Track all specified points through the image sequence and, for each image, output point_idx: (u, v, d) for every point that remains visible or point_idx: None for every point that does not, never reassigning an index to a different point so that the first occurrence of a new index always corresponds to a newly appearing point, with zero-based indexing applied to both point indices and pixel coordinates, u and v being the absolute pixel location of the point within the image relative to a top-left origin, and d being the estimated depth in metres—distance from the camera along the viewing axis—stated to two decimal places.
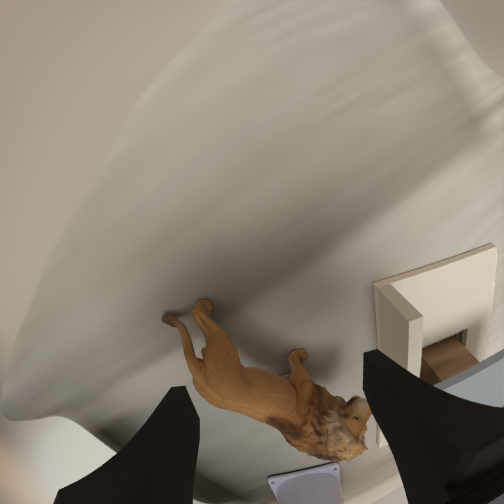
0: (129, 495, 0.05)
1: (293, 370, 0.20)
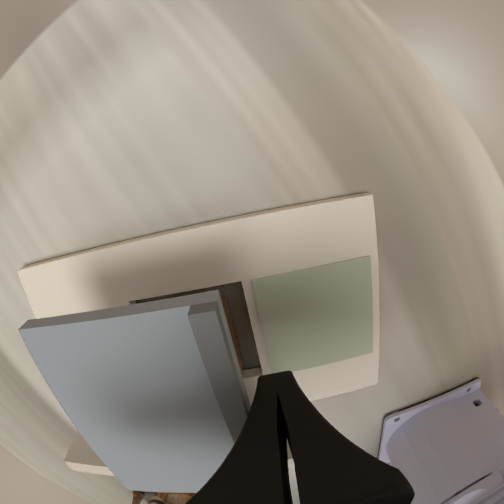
0: (280, 491, 0.05)
1: None
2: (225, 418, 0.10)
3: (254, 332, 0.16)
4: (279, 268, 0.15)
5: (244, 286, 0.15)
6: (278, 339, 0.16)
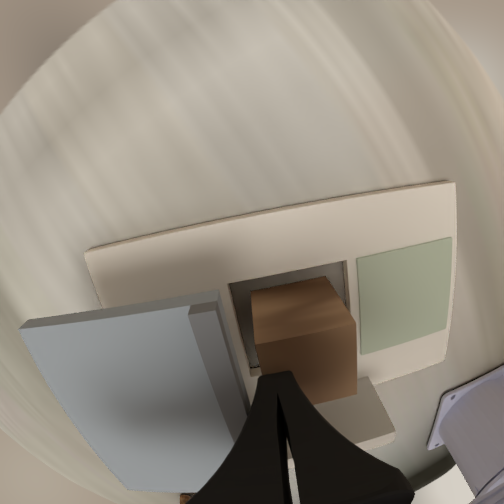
0: (280, 491, 0.05)
1: None
2: (225, 418, 0.10)
3: (351, 311, 0.16)
4: (381, 247, 0.15)
5: (348, 265, 0.15)
6: (373, 317, 0.16)
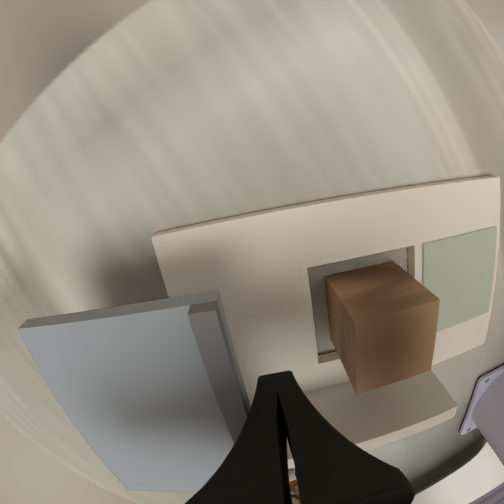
0: (280, 491, 0.05)
1: None
2: (225, 418, 0.10)
3: None
4: (442, 233, 0.15)
5: (415, 250, 0.15)
6: None
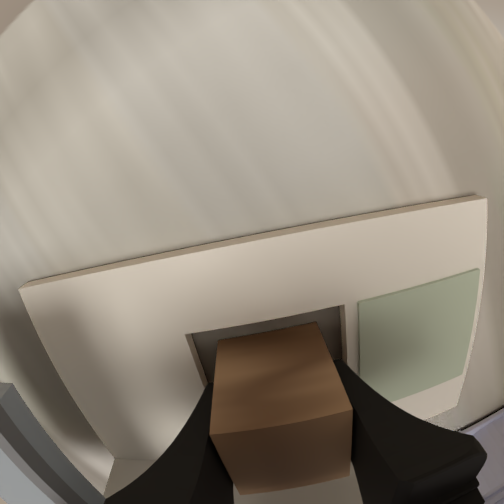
0: (189, 498, 0.05)
1: None
2: None
3: (349, 365, 0.12)
4: (391, 286, 0.11)
5: (347, 310, 0.11)
6: (375, 371, 0.12)
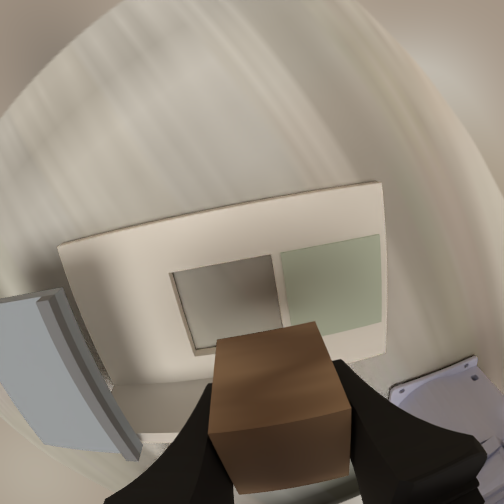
0: (189, 498, 0.05)
1: None
2: (73, 380, 0.12)
3: (280, 301, 0.19)
4: (304, 243, 0.18)
5: (273, 258, 0.18)
6: (301, 307, 0.19)
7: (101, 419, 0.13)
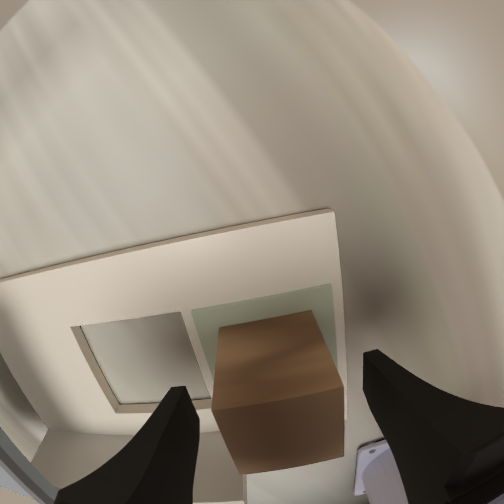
0: (129, 495, 0.05)
1: None
2: None
3: (200, 365, 0.14)
4: (221, 298, 0.13)
5: (184, 317, 0.13)
6: None
7: (12, 476, 0.09)
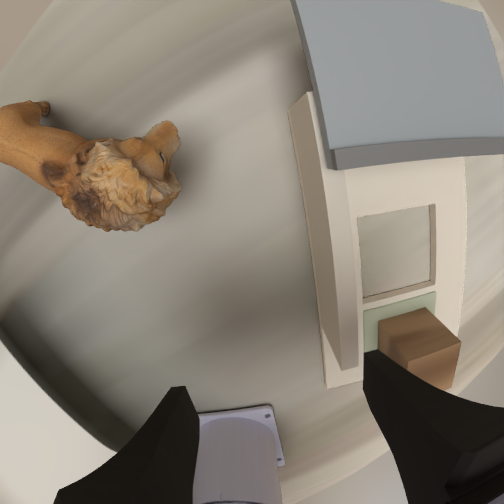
0: (129, 495, 0.05)
1: None
2: (467, 139, 0.11)
3: (401, 295, 0.20)
4: (437, 306, 0.21)
5: (431, 286, 0.20)
6: (395, 312, 0.20)
7: (421, 148, 0.11)
